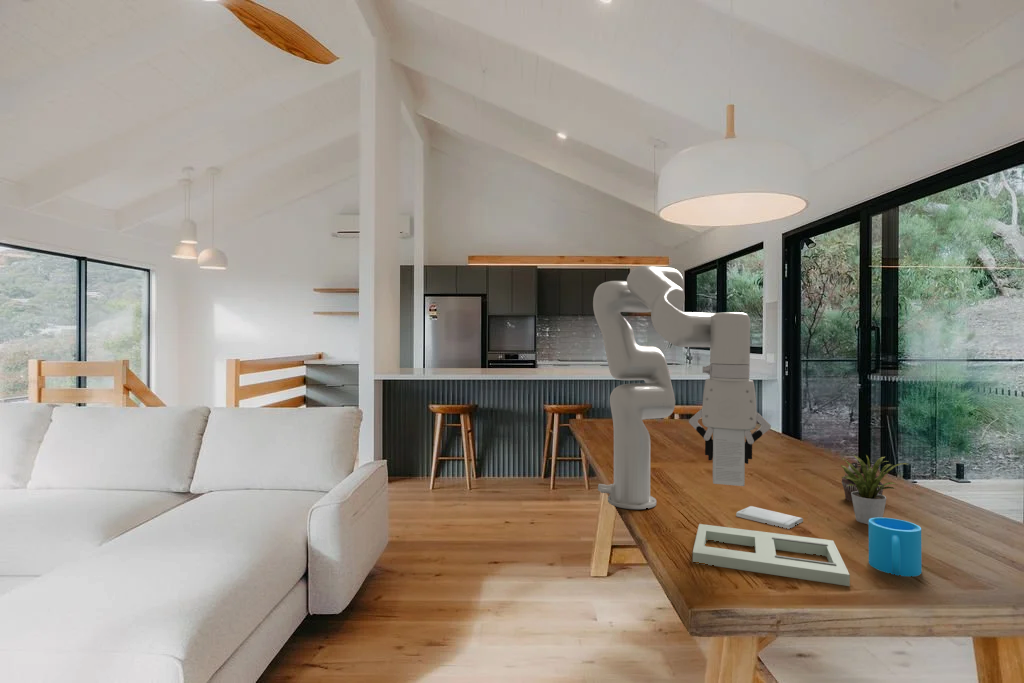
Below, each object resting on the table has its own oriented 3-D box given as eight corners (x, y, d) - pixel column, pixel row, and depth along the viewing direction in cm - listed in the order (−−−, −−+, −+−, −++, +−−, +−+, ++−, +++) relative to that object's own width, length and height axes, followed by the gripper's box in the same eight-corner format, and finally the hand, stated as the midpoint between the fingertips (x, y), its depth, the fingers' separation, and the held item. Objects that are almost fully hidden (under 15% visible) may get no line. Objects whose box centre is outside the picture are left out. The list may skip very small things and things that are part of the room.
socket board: (692, 562, 104) (692, 551, 104) (699, 532, 121) (699, 522, 121) (849, 586, 94) (849, 573, 94) (833, 550, 110) (833, 539, 110)
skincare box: (743, 481, 111) (744, 423, 111) (744, 487, 107) (745, 426, 107) (711, 478, 113) (712, 421, 113) (712, 483, 109) (713, 424, 109)
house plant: (903, 517, 132) (903, 450, 132) (918, 535, 120) (918, 461, 120) (836, 509, 138) (835, 445, 138) (843, 525, 126) (843, 455, 126)
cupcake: (888, 507, 140) (888, 469, 140) (845, 503, 143) (845, 466, 143) (879, 498, 149) (879, 461, 149) (838, 494, 152) (838, 459, 152)
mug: (868, 555, 108) (868, 514, 108) (919, 565, 103) (919, 522, 103) (868, 577, 98) (868, 532, 98) (925, 588, 93) (925, 541, 93)
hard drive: (736, 511, 133) (789, 524, 123) (751, 505, 138) (803, 516, 129) (736, 518, 132) (789, 531, 123) (751, 511, 138) (803, 523, 129)
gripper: (683, 372, 110) (682, 460, 110) (777, 375, 103) (776, 469, 103) (686, 370, 117) (685, 453, 117) (775, 373, 110) (774, 461, 110)
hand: (728, 459), depth 110 cm, fingers closed on skincare box, 6 cm apart
